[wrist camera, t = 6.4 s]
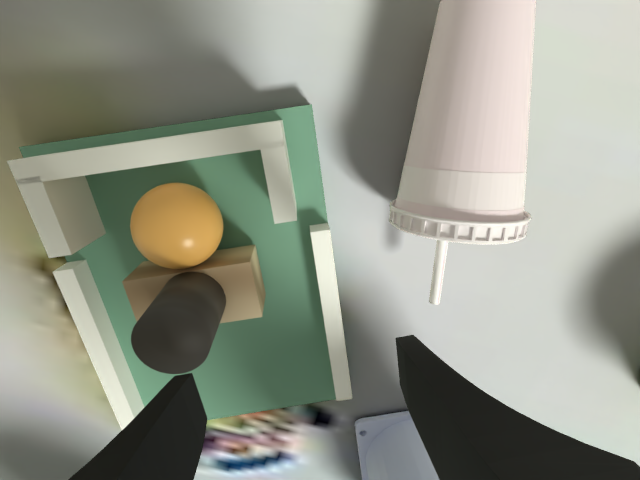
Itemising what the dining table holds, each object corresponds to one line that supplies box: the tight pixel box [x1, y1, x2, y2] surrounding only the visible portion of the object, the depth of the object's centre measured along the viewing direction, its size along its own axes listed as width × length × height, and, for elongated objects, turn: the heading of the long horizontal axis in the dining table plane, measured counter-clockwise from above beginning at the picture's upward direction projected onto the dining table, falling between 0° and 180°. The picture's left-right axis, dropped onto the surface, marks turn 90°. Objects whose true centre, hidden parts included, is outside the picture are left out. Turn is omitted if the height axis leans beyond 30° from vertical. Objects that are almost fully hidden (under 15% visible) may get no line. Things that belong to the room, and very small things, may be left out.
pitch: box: [7, 104, 353, 430], centre depth 19 cm, size 18×14×4 cm
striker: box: [122, 244, 266, 374], centre depth 16 cm, size 3×6×6 cm, turn 98°
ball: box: [130, 183, 223, 269], centre depth 16 cm, size 4×4×4 cm
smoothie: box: [389, 0, 536, 304], centre depth 17 cm, size 6×6×14 cm
